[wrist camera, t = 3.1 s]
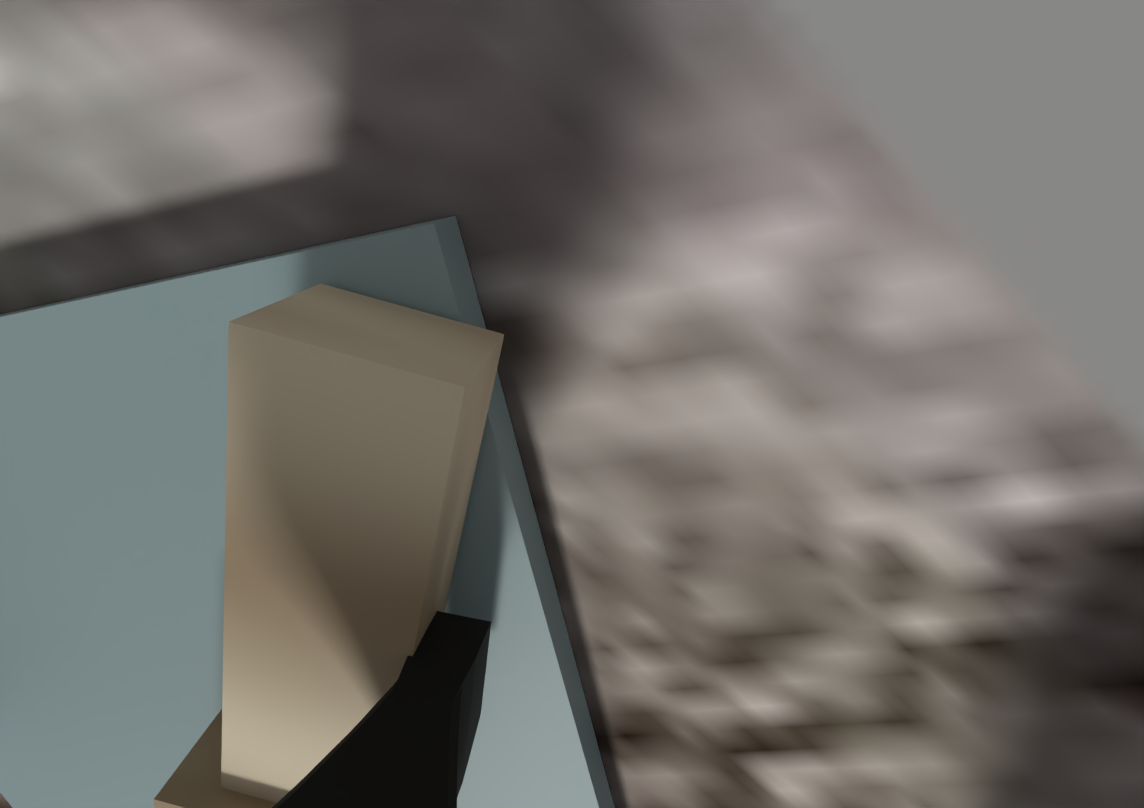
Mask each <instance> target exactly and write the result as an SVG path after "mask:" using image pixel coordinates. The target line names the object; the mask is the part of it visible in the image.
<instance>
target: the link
mask: <svg viewBox="0 0 1144 808" xmlns="http://www.w3.org/2000/svg"><path fill="white" fill-rule="evenodd" d="M503 339H504V334H501V333H498V332H494V331H490V330H487V329H483V328H480V327H476V326H472V325H469V324H465V323H462V322H458V321H454V320H451V319H447V318H444V317H440V316H436V315H433V314H429V313H426V312H422V311H418V310H415V309H411V308H408V307H404V306H400V305H397V304H393V303H390V302H386V301H382V300H379V299H375V298H372V297H368V296H364V295H361V294H357V293H354V292H350V291H346V290H343V289H339V288H336V287H332V286H328V285H325V284H318V285H316V286H314V287H311V288H309V289H306V290H304V291H302V292H299V293H297V294H294V295H292V296H289V297H287V298H285V299H282V300H280V301H277V302H275V303H273V304H270V305H268V306H265V307H263V308H260V309H258V310H256V311H253V312H251V313H248V314H246V315H244V316H241V317H239V318H236V319H234V320H231V321H229V324H228V386H227V447H226V509H225V571H224V632H223V694H222V709H221V710H220V712H219V713H218V714H217V716H216V717H215V718H214V720H213V721H212V722H211V724H210V725H209V726H208V728H207V729H206V730H205V732H204V733H203V734H202V736H201V737H200V738H199V740H198V741H197V742H196V744H195V745H194V746H193V748H192V749H191V750H190V752H189V753H188V754H187V756H186V757H185V758H184V760H183V761H182V762H181V764H180V765H179V766H178V768H177V769H176V770H175V772H174V773H173V774H172V776H171V777H170V778H169V780H168V781H167V782H166V784H165V785H164V786H163V788H162V789H161V790H160V791H159V793H158V794H157V795H156V797H155V798H154V808H272V807H273V806H274V805H275V804H276V803H278V802H279V801H280V800H281V799H282V798H283V797H284V796H285V795H286V794H287V793H288V792H289V791H290V790H291V789H293V788H294V787H295V786H296V785H297V784H298V783H299V782H300V781H301V780H302V779H303V778H304V777H305V776H306V775H307V774H308V773H309V772H310V771H311V770H312V769H313V768H314V767H315V766H316V765H317V764H318V763H319V762H320V761H321V760H322V759H323V758H324V757H325V756H326V755H327V754H328V753H329V752H330V751H331V750H332V749H333V748H334V747H335V746H336V745H337V744H338V743H339V742H340V741H341V740H342V739H343V738H344V737H345V736H346V735H347V734H348V733H349V732H350V731H351V730H352V729H353V728H354V727H355V726H356V725H357V724H358V723H359V722H360V721H361V720H362V719H363V718H364V716H365V715H366V714H367V713H368V712H369V711H370V710H371V709H372V708H373V707H374V705H375V704H376V703H377V702H378V701H379V700H380V699H381V698H382V697H383V696H384V694H385V693H386V692H387V691H388V690H389V689H390V688H391V687H392V686H393V685H394V683H395V682H396V681H397V680H398V678H399V675H400V673H401V670H402V668H403V666H404V663H405V661H406V658H407V656H413V655H414V653H415V651H416V649H417V647H418V645H419V643H420V641H421V639H422V637H423V635H424V634H425V632H426V630H427V628H428V626H429V624H430V623H431V621H432V619H433V617H434V616H435V614H436V612H437V611H440V612H445V608H446V604H447V599H448V594H449V590H450V585H451V580H452V576H453V571H454V566H455V562H456V557H457V552H458V548H459V543H460V539H461V534H462V529H463V525H464V520H465V515H466V511H467V506H468V501H469V497H470V492H471V487H472V483H473V478H474V474H475V469H476V464H477V460H478V455H479V450H480V446H481V441H482V436H483V432H484V427H485V422H486V418H487V413H488V408H489V404H490V399H491V395H492V390H493V385H494V381H495V376H496V371H497V367H498V362H499V357H500V353H501V348H502V343H503Z"/></svg>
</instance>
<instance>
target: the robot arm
mask: <svg viewBox="0 0 1144 808" xmlns="http://www.w3.org/2000/svg"><path fill="white" fill-rule="evenodd" d="M490 629H491V621H486V620H481V619H475V618H470V617H465V616H460V615H455V614H450V613H445V612H440V611H437V612H436V614H435V616H434V617H433V619H432V621H431V623H430V624H429V626H428V628H427V630H426V632H425V634H424V635H423V637H422V639H421V641H420V643H419V645H418V647H417V649H416V651H415V653H414V655H413V656H407V658H406V661H405V663H404V666H403V668H402V670H401V673H400V675H399V678H398V680H397V681H396V682H395V683H394V685H393V686H392V687H391V688H390V689H389V690H388V691H387V692H386V693H385V694H384V696H383V697H382V698H381V699H380V700H379V701H378V702H377V703H376V704H375V705H374V707H373V708H372V709H371V710H370V711H369V712H368V713H367V714H366V715H365V716H364V718H363V719H362V720H361V721H360V722H359V723H358V724H357V725H356V726H355V727H354V728H353V729H352V730H351V731H350V732H349V733H348V734H347V735H346V736H345V737H344V738H343V739H342V740H341V741H340V742H339V743H338V744H337V745H336V746H335V747H334V748H333V749H332V750H331V751H330V752H329V753H328V754H327V755H326V756H325V757H324V758H323V759H322V760H321V761H320V762H319V763H318V764H317V765H316V766H315V767H314V768H313V769H312V770H311V771H310V772H309V773H308V774H307V775H306V776H305V777H304V778H303V779H302V780H301V781H300V782H299V783H298V784H297V785H296V786H295V787H294V788H293V789H291V790H290V791H289V792H288V793H287V794H286V795H285V796H284V797H283V798H282V799H281V800H280V801H279V802H278V803H276V804H275V805H274V806H273V807H272V808H457V797H458V794H459V791H460V789H461V786H462V783H463V779H464V776H465V772H466V768H467V765H468V761H469V757H470V753H471V750H472V746H473V742H474V738H475V734H476V730H477V727H478V723H479V719H480V715H481V708H482V699H483V690H484V682H485V673H486V664H487V655H488V647H489V638H490Z"/></svg>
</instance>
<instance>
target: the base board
mask: <svg viewBox="0 0 1144 808" xmlns="http://www.w3.org/2000/svg"><path fill="white" fill-rule="evenodd" d="M318 284H325V285H328V286H332V287H336V288H339V289H343V290H346V291H350V292H354V293H357V294H361V295H364V296H368V297H372V298H375V299H379V300H382V301H386V302H390V303H393V304H397V305H400V306H404V307H408V308H411V309H415V310H418V311H422V312H426V313H429V314H433V315H436V316H440V317H444V318H447V319H451V320H454V321H458V322H462V323H465V324H469V325H472V326H476V327H480V328H483V329H486V326H485V323H484V319H483V315H482V312H481V308H480V304H479V300H478V297H477V293H476V289H475V285H474V282H473V278H472V274H471V271H470V267H469V263H468V259H467V256H466V252H465V248H464V244H463V241H462V237H461V233H460V230H459V226H458V222H457V218H456V215H455V216H450V217H446V218H441V219H437V220H432V221H428V222H423V223H418V224H414V225H409V226H405V227H400V228H395V229H391V230H386V231H382V232H377V233H372V234H368V235H363V236H359V237H354V238H349V239H345V240H340V241H336V242H331V243H326V244H322V245H317V246H313V247H308V248H304V249H299V250H294V251H290V252H285V253H281V254H276V255H271V256H267V257H262V258H258V259H253V260H248V261H244V262H239V263H235V264H230V265H225V266H221V267H216V268H212V269H207V270H202V271H198V272H193V273H189V274H184V275H180V276H175V277H170V278H166V279H161V280H157V281H152V282H147V283H143V284H138V285H134V286H129V287H124V288H120V289H115V290H111V291H106V292H101V293H97V294H92V295H88V296H83V297H78V298H74V299H69V300H65V301H60V302H56V303H51V304H46V305H42V306H37V307H33V308H28V309H23V310H19V311H14V312H10V313H5V314H0V793H1V794H2V795H3V796H4V798H5V799H6V800H7V801H8V803H9V804H10V805H11V806H12V807H13V808H154V798H155V797H156V795H157V794H158V793H159V791H160V790H161V789H162V788H163V786H164V785H165V784H166V782H167V781H168V780H169V778H170V777H171V776H172V774H173V773H174V772H175V770H176V769H177V768H178V766H179V765H180V764H181V762H182V761H183V760H184V758H185V757H186V756H187V754H188V753H189V752H190V750H191V749H192V748H193V746H194V745H195V744H196V742H197V741H198V740H199V738H200V737H201V736H202V734H203V733H204V732H205V730H206V729H207V728H208V726H209V725H210V724H211V722H212V721H213V720H214V718H215V717H216V716H217V714H218V713H219V712H220V710H221V709H222V694H223V632H224V571H225V509H226V447H227V386H228V324H229V321H231V320H234V319H236V318H239V317H241V316H244V315H246V314H248V313H251V312H253V311H256V310H258V309H260V308H263V307H265V306H268V305H270V304H273V303H275V302H277V301H280V300H282V299H285V298H287V297H289V296H292V295H294V294H297V293H299V292H302V291H304V290H306V289H309V288H311V287H314V286H316V285H318ZM445 613H450V614H455V615H460V616H465V617H470V618H475V619H481V620H486V621H491V629H490V638H489V647H488V655H487V664H486V673H485V682H484V690H483V699H482V708H481V715H480V719H479V723H478V727H477V730H476V734H475V738H474V742H473V746H472V750H471V753H470V757H469V761H468V765H467V768H466V772H465V776H464V779H463V783H462V786H461V789H460V791H459V794H458V797H457V808H615V807H614V803H613V800H612V796H611V792H610V789H609V785H608V781H607V777H606V774H605V770H604V766H603V762H602V759H601V755H600V751H599V748H598V744H597V740H596V736H595V733H594V729H593V725H592V721H591V718H590V714H589V710H588V707H587V703H586V699H585V695H584V692H583V688H582V684H581V680H580V677H579V673H578V669H577V666H576V662H575V658H574V654H573V651H572V647H571V643H570V639H569V636H568V632H567V628H566V625H565V621H564V617H563V613H562V610H561V606H560V602H559V598H558V595H557V591H556V587H555V584H554V580H553V576H552V572H551V569H550V565H549V561H548V557H547V554H546V550H545V546H544V543H543V539H542V535H541V531H540V528H539V524H538V520H537V516H536V513H535V509H534V505H533V502H532V498H531V494H530V490H529V487H528V483H527V479H526V475H525V472H524V468H523V464H522V461H521V457H520V453H519V449H518V446H517V442H516V438H515V435H514V431H513V427H512V423H511V420H510V416H509V412H508V408H507V405H506V401H505V397H504V394H503V390H502V386H501V382H500V379H499V375H498V371H496V376H495V381H494V385H493V390H492V395H491V399H490V404H489V408H488V413H487V418H486V422H485V427H484V432H483V436H482V441H481V446H480V450H479V455H478V460H477V464H476V469H475V474H474V478H473V483H472V487H471V492H470V497H469V501H468V506H467V511H466V515H465V520H464V525H463V529H462V534H461V539H460V543H459V548H458V552H457V557H456V562H455V566H454V571H453V576H452V580H451V585H450V590H449V594H448V599H447V604H446V608H445Z"/></svg>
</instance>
